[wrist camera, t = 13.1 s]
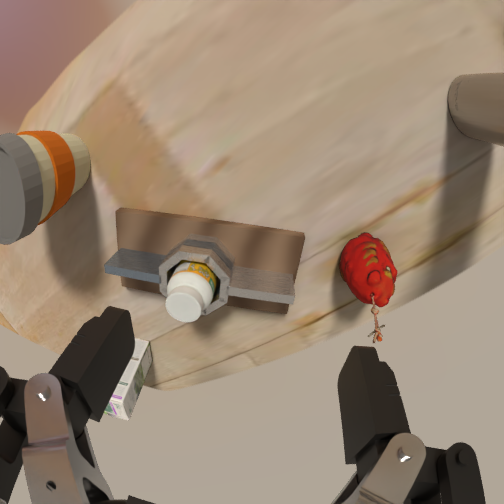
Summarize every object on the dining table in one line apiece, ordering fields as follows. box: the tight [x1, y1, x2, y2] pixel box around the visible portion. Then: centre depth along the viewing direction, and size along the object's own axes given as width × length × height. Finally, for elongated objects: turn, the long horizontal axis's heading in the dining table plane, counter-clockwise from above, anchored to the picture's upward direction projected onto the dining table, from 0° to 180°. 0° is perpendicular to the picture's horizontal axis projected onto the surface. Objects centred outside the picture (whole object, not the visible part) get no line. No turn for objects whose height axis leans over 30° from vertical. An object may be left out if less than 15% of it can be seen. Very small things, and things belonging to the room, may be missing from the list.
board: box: [116, 208, 305, 314], centre depth 39 cm, size 25×12×2 cm, turn 82°
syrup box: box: [104, 338, 152, 420], centre depth 43 cm, size 6×6×14 cm
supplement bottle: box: [166, 260, 219, 322], centre depth 34 cm, size 5×5×10 cm
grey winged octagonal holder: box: [104, 234, 295, 315], centre depth 36 cm, size 24×8×5 cm, turn 82°
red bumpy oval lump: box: [339, 233, 397, 343], centre depth 31 cm, size 8×7×15 cm
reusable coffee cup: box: [0, 131, 90, 245], centre depth 28 cm, size 13×13×15 cm
